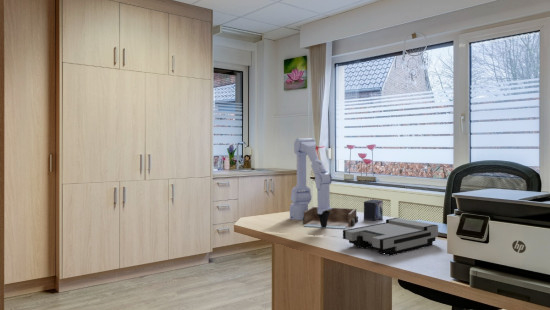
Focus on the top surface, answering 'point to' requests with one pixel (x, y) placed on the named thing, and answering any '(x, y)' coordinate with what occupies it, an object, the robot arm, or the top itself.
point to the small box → (373, 210)
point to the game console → (393, 235)
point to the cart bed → (332, 217)
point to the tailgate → (325, 227)
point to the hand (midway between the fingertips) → (323, 226)
